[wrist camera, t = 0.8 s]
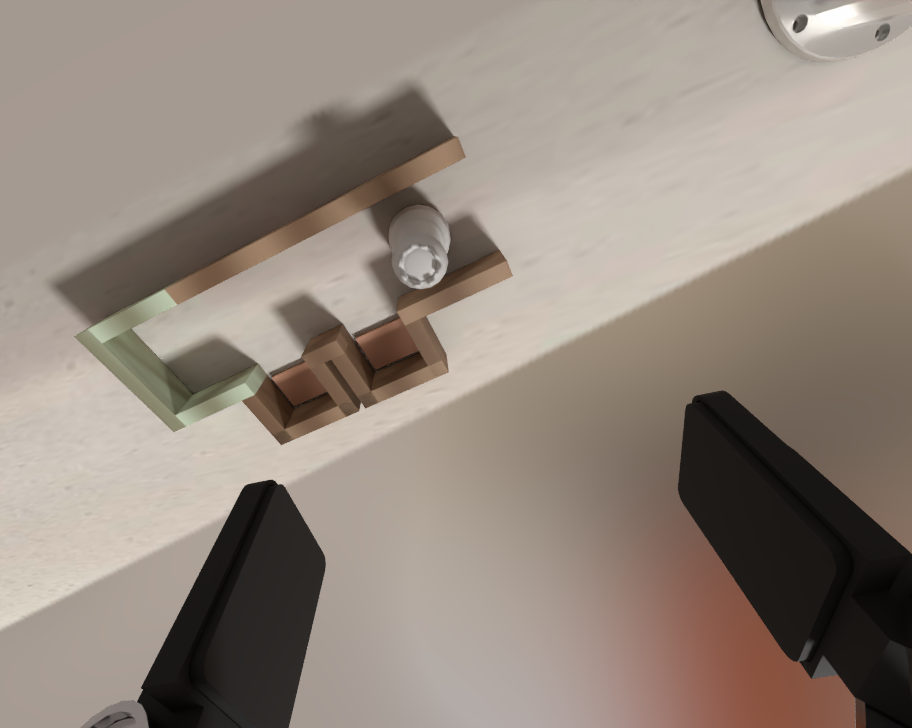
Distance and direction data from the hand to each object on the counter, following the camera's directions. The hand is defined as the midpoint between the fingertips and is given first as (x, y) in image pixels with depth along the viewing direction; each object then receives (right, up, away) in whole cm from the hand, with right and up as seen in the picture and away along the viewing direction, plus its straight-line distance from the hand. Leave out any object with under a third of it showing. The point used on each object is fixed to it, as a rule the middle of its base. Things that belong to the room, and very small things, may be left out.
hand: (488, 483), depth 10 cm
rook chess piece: (-3, +12, +21) cm, 24 cm away
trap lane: (-11, +6, +23) cm, 26 cm away
